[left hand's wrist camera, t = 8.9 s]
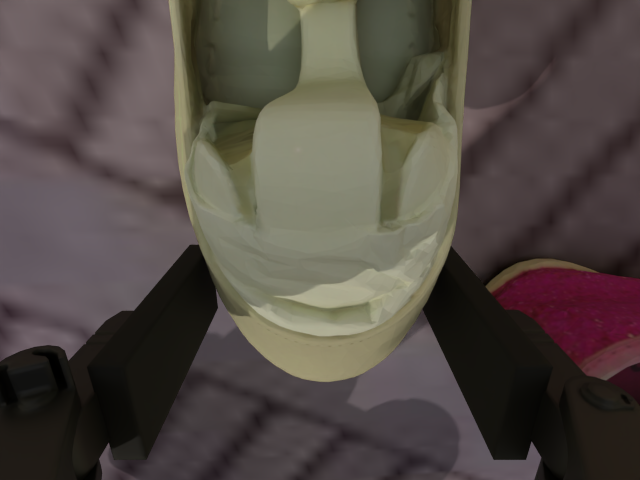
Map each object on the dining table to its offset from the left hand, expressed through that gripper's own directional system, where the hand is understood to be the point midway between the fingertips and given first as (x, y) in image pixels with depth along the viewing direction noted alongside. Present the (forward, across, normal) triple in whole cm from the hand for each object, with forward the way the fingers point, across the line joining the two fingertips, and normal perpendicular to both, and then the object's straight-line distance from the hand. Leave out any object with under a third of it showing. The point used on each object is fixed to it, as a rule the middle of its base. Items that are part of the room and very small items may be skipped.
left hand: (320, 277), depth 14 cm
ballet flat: (+1, 0, -8) cm, 8 cm away
